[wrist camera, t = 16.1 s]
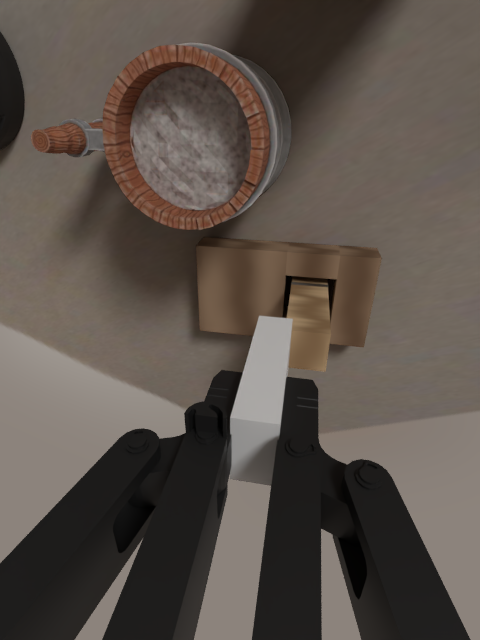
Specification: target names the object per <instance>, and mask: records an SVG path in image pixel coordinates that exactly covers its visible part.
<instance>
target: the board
mask: <svg viewBox="0 0 480 640" xmlns="http://www.w3.org/2000/svg"><path fill="white" fill-rule="evenodd" d="M196 258H197V279H198V301H199V323H200V331H210V332H219V333H229V334H239V335H249V336H254V332H255V329H256V325H257V322H258V318H259V316H268V317H279V318H287V311H288V307H286V306H285V293H286V279H287V276H300V277H312V278H325V279H334V282H333V290H332V297H331V304H330V310H329V311H330V328H331V337H330V344H337V345H346V346H356V347H364V343H365V338H366V333H367V329H368V324H369V319H370V314H371V309H372V304H373V299H374V294H375V289H376V284H377V279H378V274H379V269H380V264H381V259H382V258H381V256H380V254H379V251H378V249H377V248H368V247H352V246H337V245H321V244H305V243H290V242H274V241H259V240H243V239H228V238H212V237H204V238H203V239H202V240H201V241H200V242H199V243H198V244H197V245H196Z"/></svg>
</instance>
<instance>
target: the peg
mask: <svg viewBox="0 0 480 640" xmlns="http://www.w3.org/2000/svg"><path fill="white" fill-rule="evenodd" d="M287 318H290V319H293V321H292V333H291V344H290V355H289V366H288V367H289V368H298V369H307V370H316V371H324V372H325V371H326V364H327V357H328V351H329V344H330V337H331V328H330V311H329V295H328V279H325V278H312V277H300V276H293V278H292V282H291V291H290V298H289V305H288V311H287Z"/></svg>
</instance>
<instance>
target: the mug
mask: <svg viewBox="0 0 480 640" xmlns="http://www.w3.org/2000/svg"><path fill="white" fill-rule="evenodd" d="M31 141H32V144H33V146H34V147H35V148H36V149H37V150H38V151H40V152H45V153H64V152H65V153H67V154H68V155H70V156H73V157H82V156H87V155H90V154H91V153H92V152H93V151H98V150H100V151H103V152H105V154H106V158H107V162H108V164H109V167H110V169H111V171H112V174H113V176H114V178H115V180H116V182H117V183H118V185H119V187H120V188H121V190H122V192H123V193H124V194H125V196H126V197H127V198H128V199H129V200H130V202H131V203H132V204H133V205H134V206H135V207H137V208H138V209H139V210H140V211H141V212H143V213H144V214H145V215H147V216H148V217H150V218H152V219H154V220H155V221H157V222H159V223H161V224H164V225H166V226H169V227H172V228H178V229H184V230H194V229H199V230H202V229H206V228H210V227H213V226H215V225H217V224H219V223H221V222H225V221H227V220H230V219H232V218H234V217H236V216H238V215H240V214H241V213H242V212H243V211H245V210H246V209H247V208H249V207H250V206H251V205H252V204H253V203H254V202H255V200H256V199H257V198H258V197H259V196H260V195H261V194H262V193H263V192H264V191H266V190H267V189H268V188H269V187H270V186H271V185H272V184H273V182H274V181H275V180H276V179H277V178H278V176H279V174H280V172H281V171H282V169H283V167H284V165H285V162H286V160H287V157H288V154H289V149H290V143H291V120H290V115H289V109H288V106H287V103H286V101H285V98H284V96H283V93H282V92H281V90H280V88H279V87H278V85H277V84H276V82H275V81H274V79H273V78H272V77H271V76H270V75H269V74H268V73H267V72H266V71H265V70H264V69H263V68H261V67H260V66H258V65H257V64H255V63H254V62H252V61H250V60H248V59H245V58H242V57H240V56H237V55H231V54H230V53H228V52H227V51H225V50H222V49H219V48H217V47H214V46H211V45H208V44H200V43H184V44H177V45H165V46H158V47H156V48H153V49H151V50H148V51H146V52H143V53H142V54H141V55H139V56H138V57H137V58H135V59H134V60H133V61H131V62H130V63H129V64H128V65H127V66H126V67H125V68H124V70H123V71H122V72H121V73H120V74H119V76H118V77H117V79H116V80H115V82H114V84H113V86H112V88H111V90H110V92H109V93H108V97H107V100H106V103H105V107H104V110H103V118H101V119H96V120H94V121H93V122H92V123H86V122H85V121H83V120H79V119H68V120H64V121H63V122H62V123H61V124H60V125H59V126H58V127H56V126H54V127H50V128H47V129H44V130H34V131H33V132H32V135H31Z"/></svg>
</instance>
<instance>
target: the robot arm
mask: <svg viewBox="0 0 480 640" xmlns="http://www.w3.org/2000/svg"><path fill="white" fill-rule="evenodd" d="M23 112H24V91H23V84H22V79H21V75H20V71H19V68H18V65H17V63H16V60H15V58H14V55H13V53H12V51H11V49H10V47H9V45H8V43H7V41H6V40H5V38H4V37H3V35H2V34H1V32H0V150H1V149H3V148H4V147H6V146H7V145H8V144H9V143H10V142H11V141H12V140H13V139H14V137H15V136H16V134H17V132H18V130H19V128H20V125H21V122H22V118H23ZM292 321H293V319H290V318H279V317H268V316H259V318H258V322H257V325H256V329H255V332H254V336H253V339H252V343H251V346H250V350H249V353H248V357H247V360H246V364H245V367H244V371H243V373H242V372H233V371H225V370H221V371H220V372H219V373H218V374H217V375H216V376H215V377H214V378H213V380H212V383H211V385H210V388H209V390H208V393H207V396H206V398H205V401H204V402H199V403H196V404H194V405H192V406H190V407H189V408H188V409H187V410H186V412H185V413H184V414H185V426H186V433H185V434H182V435H180V436H176V437H172V438H163V439H159V437H158V436H157V434H156V433H155V432H153V431H151V430H148V429H135V430H132V431H130V432H127V433H126V434H124V435H123V436H122V437H120V438H119V439H118V440H117V442H116V443H115V444H114V445H113V446H112V447H111V448H110V449H109V450H108V451H107V452H106V453H105V454H104V455H103V456H102V457H101V458H100V460H98V462H96V464H95V465H94V466H93V467H92V468H91V469H90V470H89V471H88V472H87V473H86V474H85V475H84V476H83V478H81V479H80V480H79V481H78V482H77V484H76V485H75V486H74V487H73V488H72V489H71V490H70V491H69V492H68V493H67V494H66V495H65V496H64V497H63V498H62V499H61V500H60V501H59V503H57V504H56V506H55V507H54V508H53V509H52V510H51V511H50V512H49V513H48V514H47V515H46V516H45V517H44V518H43V519H42V520H41V521H40V522H39V523H38V524H37V525H36V527H35V528H34V529H33V530H32V531H31V532H30V533H29V534H28V535H27V536H26V537H25V538H24V539H23V540H22V541H21V542H20V543H19V544H18V545H17V546H16V548H15V549H14V550H13V551H12V552H11V553H10V554H9V555H8V556H7V557H6V558H5V559H4V560H3V561H2V562H1V563H0V640H74V639H75V638H76V636H77V635H78V633H79V632H80V631H81V629H82V628H83V626H84V625H85V623H86V621H87V620H88V619H89V617H90V616H91V614H92V613H93V611H94V610H95V608H96V607H97V605H98V604H99V602H100V601H101V599H102V598H103V596H104V595H105V593H106V592H107V590H108V589H109V588H110V586H111V584H112V583H113V582H114V580H115V579H116V577H117V576H118V574H119V573H120V571H121V570H122V568H123V567H124V565H125V563H126V562H127V561H128V559H129V558H130V556H131V555H132V553H133V552H134V550H135V549H136V547H137V545H138V544H139V543H140V541H141V540H142V539H143V541H142V543H141V545H140V548H139V550H138V553H137V555H136V558H135V560H134V563H133V565H132V568H131V570H130V572H129V575H128V577H127V580H126V582H125V585H124V587H123V590H122V592H121V595H120V597H119V600H118V602H117V605H116V607H115V610H114V612H113V614H112V617H111V619H110V622H109V624H108V627H107V629H106V632H105V634H104V637H103V639H102V640H194V636H195V632H196V627H197V623H198V619H199V614H200V610H201V605H202V601H203V597H204V592H205V588H206V584H207V580H208V575H209V571H210V567H211V563H212V558H213V554H214V550H215V545H216V540H217V536H218V532H219V527H220V524H221V519H222V515H223V511H224V506H225V502H226V498H227V482H228V479H229V475H230V479H233V480H239V481H246V482H252V483H259V484H264V485H271V492H270V500H269V508H268V516H267V524H266V532H265V540H264V548H263V556H262V564H261V572H260V580H259V588H258V596H257V604H256V611H255V619H254V628H253V636H252V640H322V638H321V636H322V635H321V529H324V530H325V531H327V532H329V533H331V534H333V539H334V543H335V546H336V550H337V553H338V557H339V561H340V564H341V568H342V571H343V575H344V579H345V582H346V586H347V589H348V593H349V596H350V600H351V604H352V607H353V611H354V614H355V618H356V622H357V625H358V628H359V632H360V636H361V640H470V638H469V636H468V634H467V632H466V630H465V628H464V626H463V623H462V622H461V619H460V617H459V615H458V613H457V611H456V609H455V607H454V605H453V603H452V601H451V599H450V597H449V595H448V592H447V590H446V588H445V586H444V585H443V582H442V580H441V578H440V576H439V574H438V572H437V570H436V568H435V566H434V564H433V562H432V559H431V557H430V555H429V553H428V551H427V549H426V547H425V545H424V543H423V541H422V539H421V537H420V535H419V533H418V531H417V529H416V527H415V525H414V522H413V520H412V518H411V516H410V514H409V512H408V510H407V508H406V506H405V504H404V502H403V500H402V498H401V496H400V494H399V492H398V489H397V487H396V485H395V483H394V481H393V479H392V477H391V476H390V474H389V473H388V472H387V470H386V469H384V468H383V467H382V466H380V465H379V464H377V463H375V462H372V461H369V460H362V459H360V460H356V461H352V462H351V463H350V464H348V465H346V464H344V463H341V462H339V461H337V460H335V459H333V458H332V457H330V456H329V455H328V454H326V453H325V452H324V450H323V449H322V448H321V446H320V444H319V439H318V388H317V387H316V385H315V383H314V382H313V380H309V379H300V378H292V377H287V375H288V366H289V355H290V344H291V333H292ZM143 537H144V538H143Z"/></svg>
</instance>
